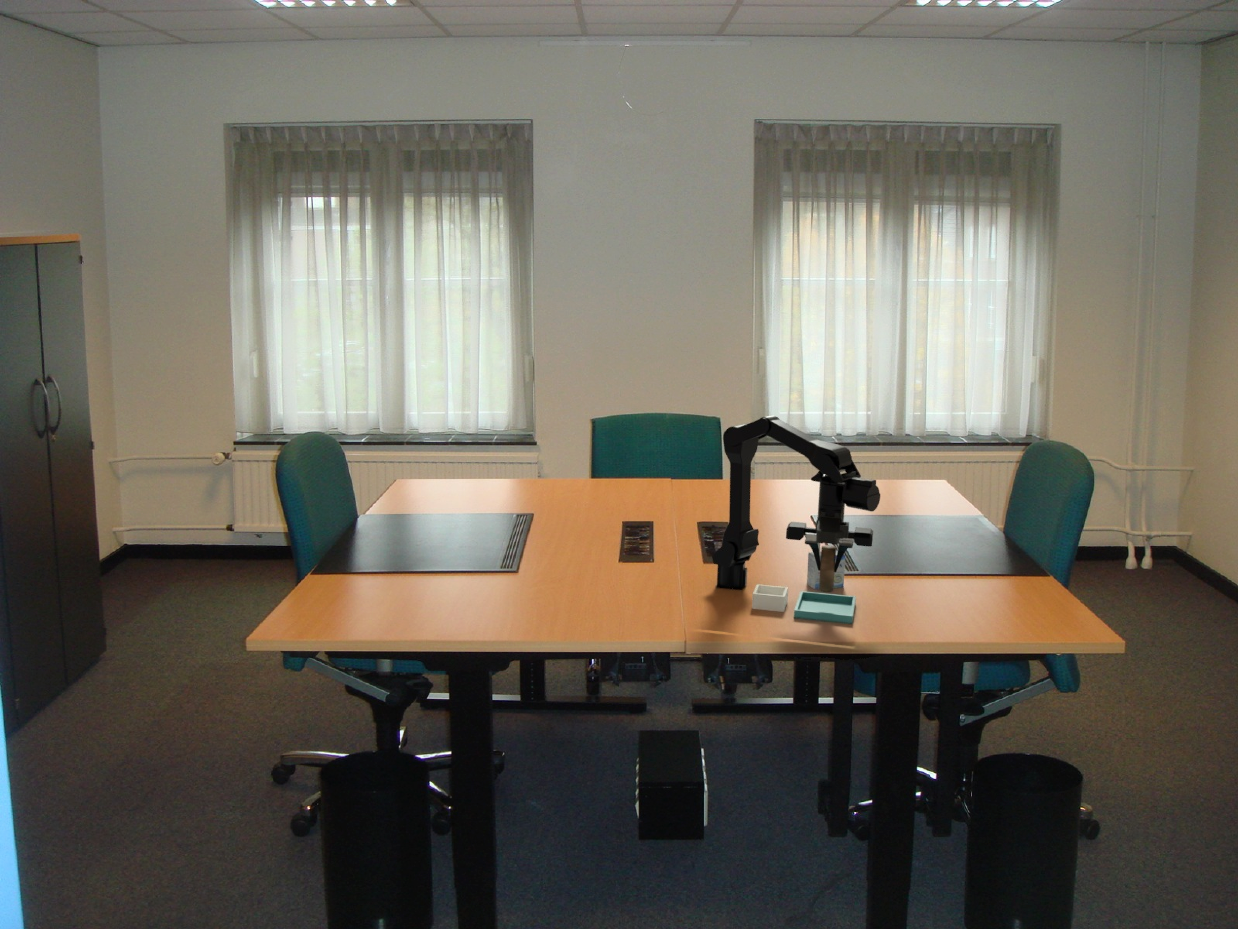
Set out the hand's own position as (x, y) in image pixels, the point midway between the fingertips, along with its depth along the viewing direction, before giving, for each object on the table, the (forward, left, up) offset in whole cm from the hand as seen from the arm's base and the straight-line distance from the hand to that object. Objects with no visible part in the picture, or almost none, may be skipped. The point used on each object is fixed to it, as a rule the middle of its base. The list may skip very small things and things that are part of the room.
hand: (827, 571), depth 237 cm
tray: (0, 0, -10) cm, 10 cm away
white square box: (-12, 0, -10) cm, 16 cm away
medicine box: (-1, +19, -10) cm, 22 cm away
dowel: (0, 0, -5) cm, 5 cm away
